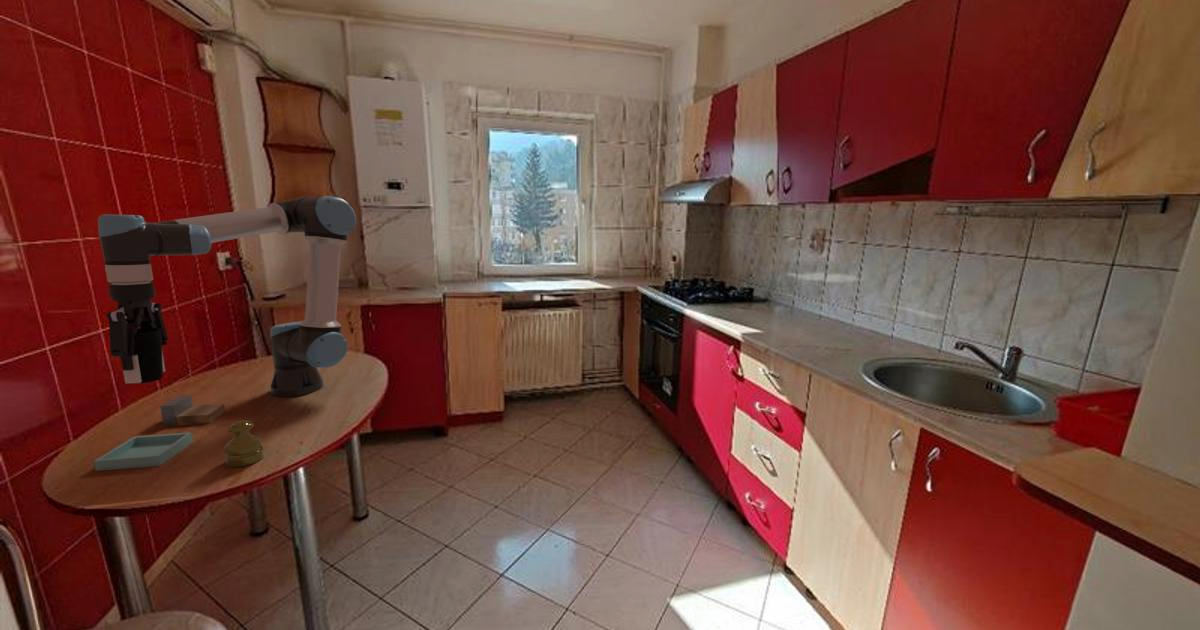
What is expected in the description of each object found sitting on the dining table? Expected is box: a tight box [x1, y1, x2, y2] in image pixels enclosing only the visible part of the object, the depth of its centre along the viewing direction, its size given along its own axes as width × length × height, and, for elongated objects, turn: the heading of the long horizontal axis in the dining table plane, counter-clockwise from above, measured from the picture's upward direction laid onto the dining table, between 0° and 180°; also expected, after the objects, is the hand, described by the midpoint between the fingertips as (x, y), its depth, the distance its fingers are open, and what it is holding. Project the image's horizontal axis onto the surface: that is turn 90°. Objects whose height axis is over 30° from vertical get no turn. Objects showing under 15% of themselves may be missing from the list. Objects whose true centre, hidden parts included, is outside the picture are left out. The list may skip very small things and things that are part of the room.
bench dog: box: [160, 394, 194, 427], centre depth 133 cm, size 3×8×6 cm, turn 13°
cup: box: [134, 327, 164, 385], centre depth 110 cm, size 8×8×12 cm
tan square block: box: [176, 403, 226, 426], centre depth 135 cm, size 8×8×3 cm
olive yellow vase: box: [223, 419, 265, 468], centre depth 112 cm, size 7×7×10 cm
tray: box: [93, 432, 194, 472], centre depth 114 cm, size 13×13×2 cm
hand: (146, 377), depth 111 cm, fingers closed on cup, 8 cm apart
